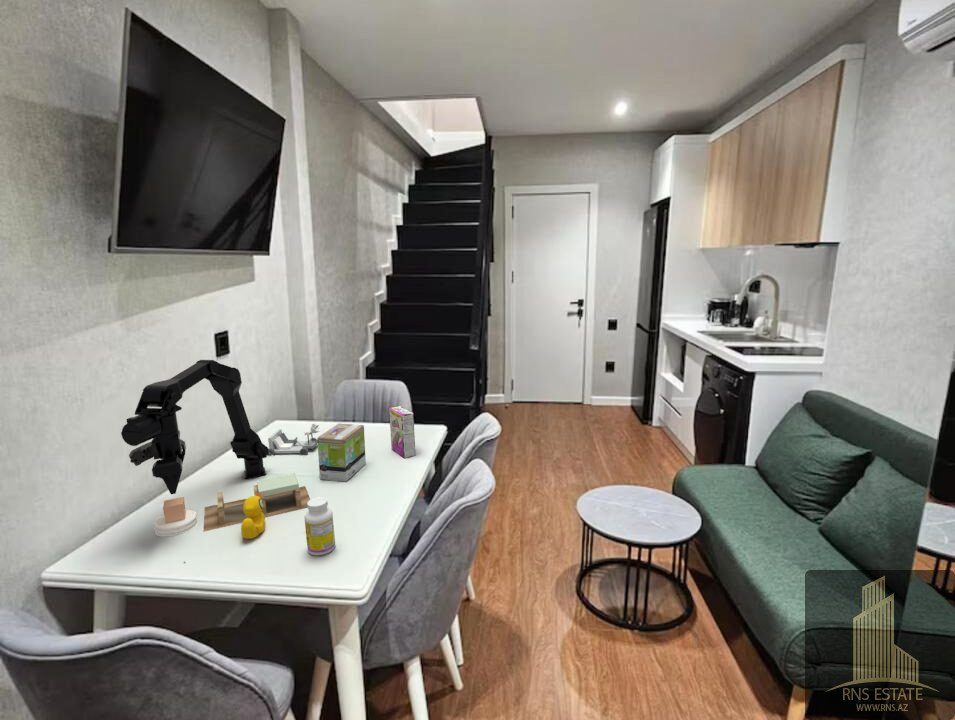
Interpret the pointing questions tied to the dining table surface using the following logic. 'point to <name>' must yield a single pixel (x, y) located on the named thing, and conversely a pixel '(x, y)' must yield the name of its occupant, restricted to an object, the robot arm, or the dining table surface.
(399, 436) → the candy bar box
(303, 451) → the toy car
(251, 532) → the duckling
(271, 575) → the dining table surface
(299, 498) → the wooden slotted rack
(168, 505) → the block
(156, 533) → the coaster
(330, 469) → the tea box
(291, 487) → the cover
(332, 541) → the supplement bottle
